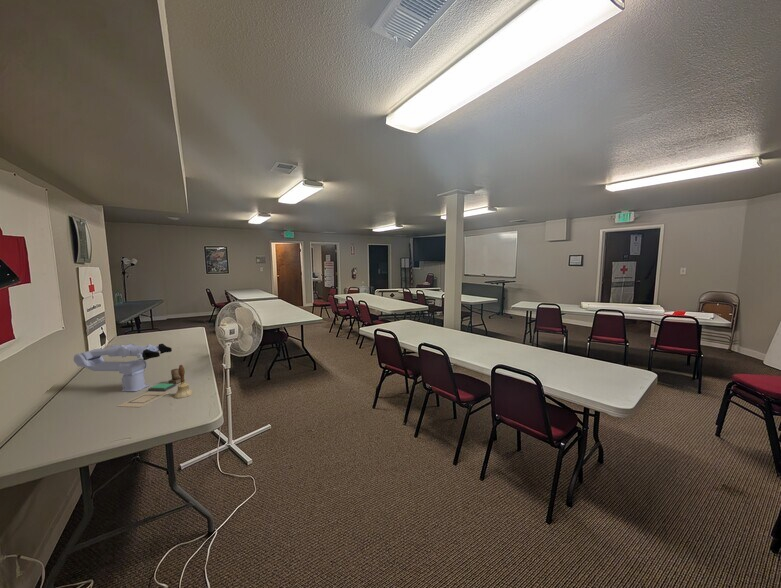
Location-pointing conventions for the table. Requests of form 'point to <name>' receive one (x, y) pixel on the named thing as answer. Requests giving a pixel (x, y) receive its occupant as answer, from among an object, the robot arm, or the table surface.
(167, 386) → the ink pad
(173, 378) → the stamp
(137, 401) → the form
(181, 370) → the hand bell
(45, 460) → the table surface
